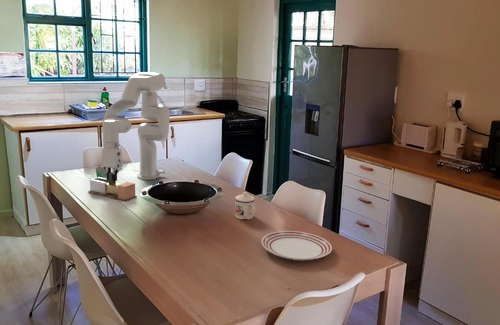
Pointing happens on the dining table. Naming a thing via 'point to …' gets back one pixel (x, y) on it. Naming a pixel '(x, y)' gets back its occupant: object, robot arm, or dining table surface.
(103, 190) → the white rectangular block
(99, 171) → the food container
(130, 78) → the robot arm
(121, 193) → the socket block
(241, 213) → the teacup with lid
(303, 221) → the dining table surface
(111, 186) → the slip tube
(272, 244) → the dinner plate
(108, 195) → the base board
